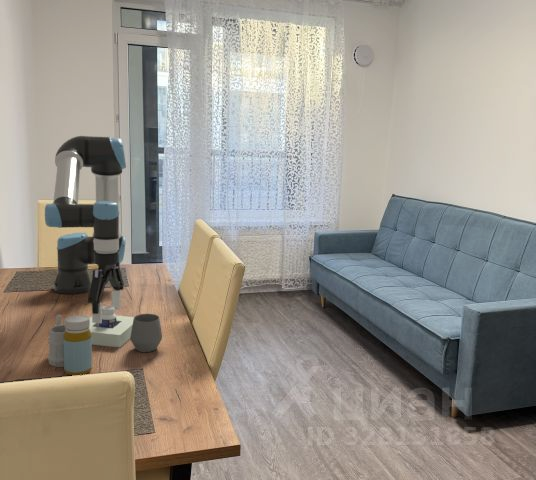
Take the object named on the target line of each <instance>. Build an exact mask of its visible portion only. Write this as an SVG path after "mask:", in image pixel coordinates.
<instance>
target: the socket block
mask: <svg viewBox="0 0 536 480" xmlns="http://www.w3.org/2000/svg"><path fill="white" fill-rule="evenodd" d="M134 317H135V316H127V315H126V316H125V315H116V326H115V327H114V328H103V327H99V323H92V315H91V316H89V318H90V325H89V329H90V332H91V336H92V346H93V345H94V346H101V347H102V346H103V347H104V346H105V347H112V348H121V347H122V346H124V345H125V344H126V343H127V342H128V341H129V340H131V339H130V336H131V331H132V325H133V320H134Z"/></svg>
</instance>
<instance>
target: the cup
mask: <svg viewBox="0 0 536 480" xmlns="http://www.w3.org/2000/svg"><path fill="white" fill-rule="evenodd" d="M133 317H134V320H133V325H132V331H131V336H130V339H129V340H130V342H131V343H132V344H133V347H134V348H135V350H136V351H138V352H141V353H149V352H151V353H152V352H153V351H155V350H157V348H159V345H160V344H161V341H162V339H163V331H162V325H161V320H160V316H159V315H157V314H153V313H142V314H137V315H135V316H133Z"/></svg>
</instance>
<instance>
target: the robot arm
mask: <svg viewBox="0 0 536 480" xmlns="http://www.w3.org/2000/svg"><path fill="white" fill-rule="evenodd" d="M124 149H125V148H124V142H123V140H122V139H121V138H119V137H112V136H88V135H79V136H74V137H71V138H70V139H68V140H65V142H63V144H61V146H60V147H58V149H57V152H56V153H55V158H54V165H55V167H56V175H55V183H54V184H55V185H54V195H53V202H52V203H46V204H45V207H44V220H45V226H47V227H49V228H59V229H62V228H93V232H92V236H89V235H88V233H87V232H73V233H68V234H67V233H66V234H63V235H61V236H59V237H58V238H57V241H56V243H57V245H56V249H57V273H56V277H55V279H54V283H53V291H54V292H55V293H59V294H64V295H74V294H82V293H87V292H88V299H87V303H88V304H91V313H92V315H91V316H92V323H100V324H101V323H102V307H103V305H102V302H101V299H102V297H103V292H104V290H105V287H106V285H107V284H108V282H109V283H110V286H111V288H112V290H111V306H113V307H114V308H115V310H117V311H118V310H120V311H121V306H122V305H121V300H122V299H121V291H123V290H124V289H125V288H124V285H125V284H124V280H123V275H122V271H121V269H120V268H121V267H120V264H121V263H122V262H123V260H124V257H125V252H126V236H123V232H121V230H120V229H119V227H120V226H119V223H120V222H119V221H120V219H119V215H120V211H119V176H121V175H122V174H123V170H124V169H126V168H127V163H126V162H127V161H126V157H125V150H124ZM82 168H90V170H91V171H90V172H91V173H92V174H93V175H94V176H95V202H94V203H87V204H86V203H79V193H80V190H79V189H80V175H81V173H80V172H81V170H82ZM89 265H97V267H98V268H97V269H93V270H92V277H91V276H90V272H89V267H88V266H89Z"/></svg>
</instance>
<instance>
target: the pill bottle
mask: <svg viewBox="0 0 536 480" xmlns="http://www.w3.org/2000/svg"><path fill="white" fill-rule="evenodd" d="M115 310H116V309H115V308H114V307H113V306H112V305H105V306H102V323H101V324H100V323H99V327H103V328H114V327H115V326H116V316H117V314H116V313H115Z"/></svg>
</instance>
